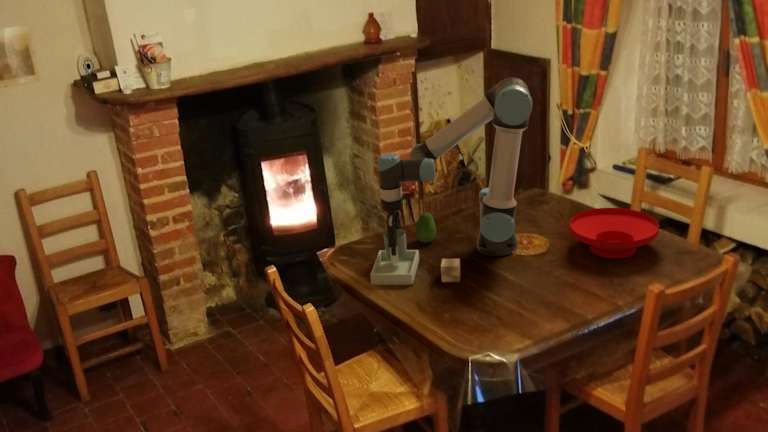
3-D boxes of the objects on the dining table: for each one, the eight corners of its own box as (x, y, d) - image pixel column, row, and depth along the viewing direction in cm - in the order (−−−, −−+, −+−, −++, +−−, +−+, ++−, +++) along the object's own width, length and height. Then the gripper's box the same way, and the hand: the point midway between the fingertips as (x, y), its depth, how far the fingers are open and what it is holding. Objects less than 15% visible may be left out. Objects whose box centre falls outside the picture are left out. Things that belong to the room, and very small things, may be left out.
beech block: (460, 274, 285) (459, 258, 283) (459, 282, 279) (458, 266, 277) (443, 274, 286) (442, 258, 284) (441, 282, 280) (440, 266, 278)
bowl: (562, 263, 285) (562, 237, 281) (577, 228, 311) (577, 204, 307) (653, 271, 274) (655, 244, 270) (661, 235, 300) (662, 209, 296)
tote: (419, 259, 298) (418, 250, 296) (412, 284, 280) (411, 274, 279) (380, 260, 300) (379, 250, 299) (371, 285, 283) (370, 274, 281)
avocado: (441, 241, 311) (439, 212, 306) (424, 248, 307) (422, 218, 302) (428, 235, 317) (426, 206, 312) (411, 241, 313) (409, 212, 309)
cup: (405, 263, 288) (403, 237, 284) (384, 263, 290) (381, 238, 286) (409, 254, 295) (407, 228, 292) (388, 254, 297) (385, 229, 293)
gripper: (385, 187, 294) (390, 245, 302) (375, 209, 275) (381, 270, 284) (406, 186, 292) (411, 244, 301) (397, 209, 274) (403, 270, 282)
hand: (396, 257), depth 292 cm, fingers closed on cup, 8 cm apart
